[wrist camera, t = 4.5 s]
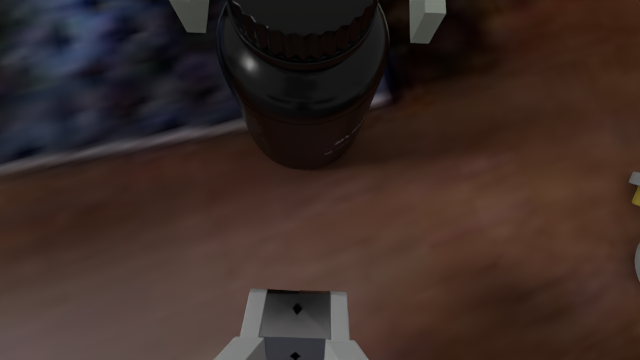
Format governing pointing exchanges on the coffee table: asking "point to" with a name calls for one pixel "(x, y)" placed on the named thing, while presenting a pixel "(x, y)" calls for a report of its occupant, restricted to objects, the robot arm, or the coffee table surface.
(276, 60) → the supplement bottle
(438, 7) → the pale u-shaped frame
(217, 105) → the coffee table surface
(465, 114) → the coffee table surface
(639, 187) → the reed diffuser
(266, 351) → the robot arm
